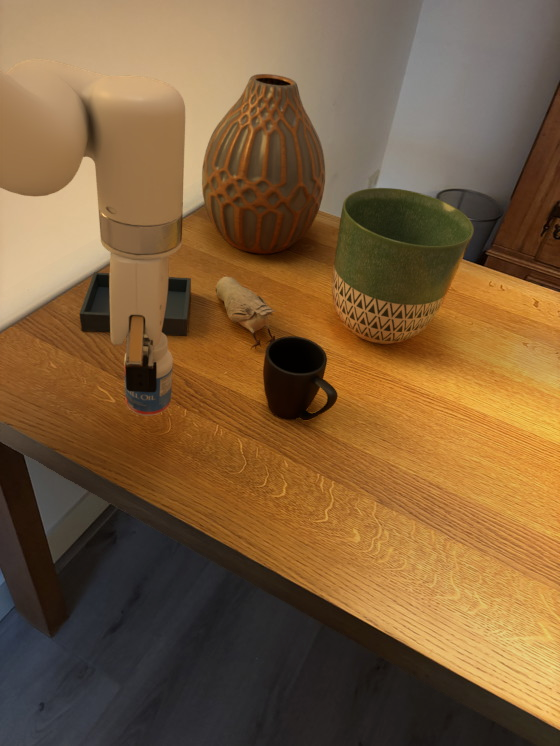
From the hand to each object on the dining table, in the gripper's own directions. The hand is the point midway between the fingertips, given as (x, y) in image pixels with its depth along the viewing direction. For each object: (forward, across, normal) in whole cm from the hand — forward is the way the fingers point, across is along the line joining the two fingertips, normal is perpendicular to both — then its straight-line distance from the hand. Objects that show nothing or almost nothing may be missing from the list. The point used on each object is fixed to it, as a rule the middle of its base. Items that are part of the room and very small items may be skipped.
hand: (144, 370), depth 63 cm
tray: (+12, -28, -4) cm, 31 cm away
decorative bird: (+11, -26, +13) cm, 31 cm away
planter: (+11, -26, +36) cm, 46 cm away
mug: (+11, -5, +20) cm, 23 cm away
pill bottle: (+5, 0, 0) cm, 5 cm away
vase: (+11, -57, +17) cm, 61 cm away
